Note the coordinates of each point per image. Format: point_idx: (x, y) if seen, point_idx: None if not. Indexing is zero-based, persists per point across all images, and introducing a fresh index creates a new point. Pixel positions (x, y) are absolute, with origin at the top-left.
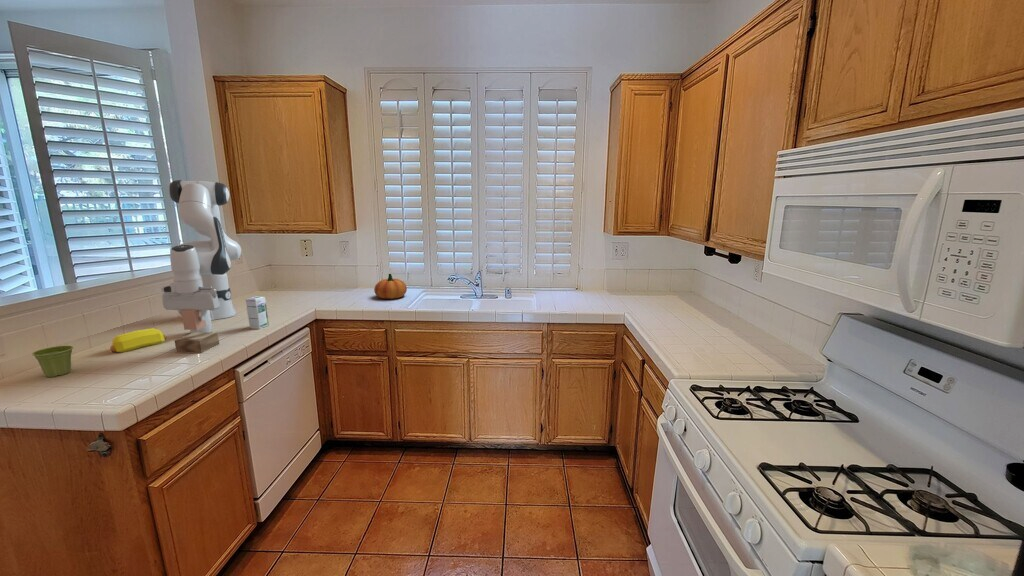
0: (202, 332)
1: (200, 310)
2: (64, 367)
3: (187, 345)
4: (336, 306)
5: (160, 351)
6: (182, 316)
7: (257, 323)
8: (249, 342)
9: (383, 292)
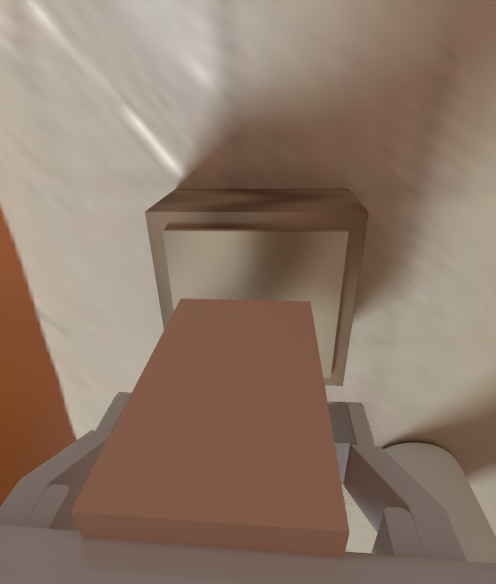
0: None
1: (34, 524)
2: None
3: (258, 201)
4: None
5: (476, 205)
6: (323, 413)
7: None
8: (57, 353)
9: None
